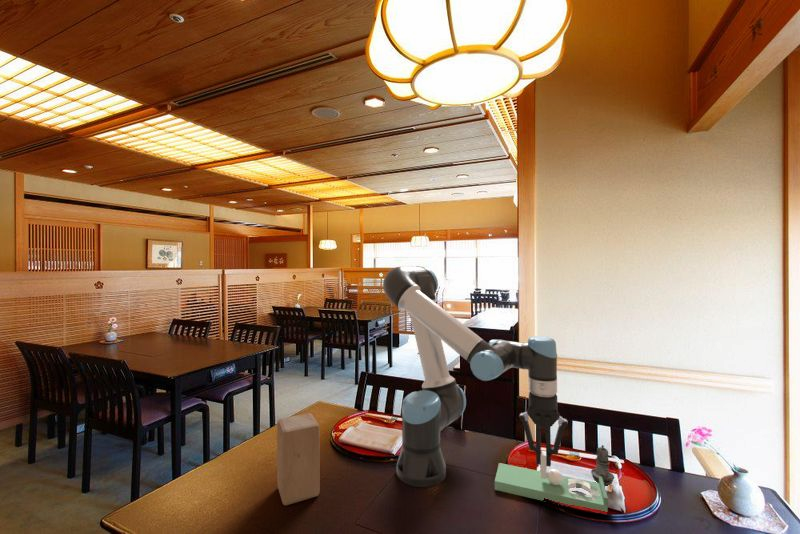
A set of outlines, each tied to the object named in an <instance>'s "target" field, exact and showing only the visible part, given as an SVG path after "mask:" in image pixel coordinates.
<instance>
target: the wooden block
mask: <svg viewBox="0 0 800 534" xmlns="http://www.w3.org/2000/svg"><path fill="white" fill-rule="evenodd" d="M276 425H277V426H276V427H277V429H276V435H277V437H276V439H277V440H276V441H277V443H276V448H277V450H276V452H277V458H276V459H277V462H276V463H277V469H276V472H277V476H276V477H277V479H276V480H277V481H276V482H277V483H276V484H277V489H278V492H279V496H280V499H281V503H282V505H283V506H288V505H292V504H297V503H299V502H302V501H305V500H309V499H312V498H315V497H318V496H319V494H320V486H321V485H320V477H321V475H320V464H321V463H320V425H319V423H318V421H317V420H316V418H315V417H314V415H313V414H312V413H310V412H309V413H303V414H297V415H292V416H288V417H287V416H286V417H281V418H279V419H277V422H276Z"/></svg>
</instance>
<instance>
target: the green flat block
mask: <svg viewBox="0 0 800 534" xmlns="http://www.w3.org/2000/svg"><path fill="white" fill-rule="evenodd" d="M575 487H576V488H582V489H584V490H586V491H588V492H589V493H590V495H584V494H583V495H582V494H579V493H577V492H572V491H571V490H570V488H575ZM494 491H500V492H502V493H507V494H513V495H516V496H520V497H525V498H529V499H534V500H538V501H542V502H544V501H543V500H544V498H545V499H549V500H552V501H555V502H560V503H564V504H568V505H575V506H580V507H586V508H590V509H596V510H601V511H605V512H608V511H609V509H608V508H609V507H608V505H609V502H608V500H609V497H608V494H607V492H606V490H605V486H604V482H603V478H602V477H601V476H599V483H596V482H593V481H591V480H586V479H582V478H581V479H580V478H575V477H570V476H565V475H562V482H561V484H559V485H553V484H551V483H550V482H549V481H548V479H542V478H541V470H537V469H530V468H526V467H522V466H521V467H520V466H516V465H511V464H505V463H500V462H498V466H497V471H496V474H495V478H494ZM608 513H609V512H608Z"/></svg>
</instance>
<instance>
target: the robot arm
mask: <svg viewBox="0 0 800 534" xmlns="http://www.w3.org/2000/svg"><path fill="white" fill-rule="evenodd" d="M438 281H439V279H438V278H437V276H436V274H435V273H434V272H433V271H432V270H431V269H429V268H428V267H426V266H425V267H424V266H419V265H417V266H398V267H397V266H396V267H394V268H392V269H390V270H389V271H388V272H387V273H386V275H385V277H384V279H383V282H382V287H383V292H384V294H385V296H386V298H387V300H389V301H390V302H391V304H393V306H395V307H396V308H397V309H399V310H400V311H401V312H402V311H404V312H405V311H406V312H407V313H408V314H409V315H410V320H411V324H412V330H413V333H414V338H415V342H416V347H417V351H418V355H419V360H420V364H421V369H422V372H423V376H424V381H423V383H422V384H421V388H422V390H419V391H416V390H415V391H412V392H410V393H408V394H407V395H406V396H405V397H404V398H403V401H402V407H401V420H402V421H401V422H402V423H401V429H402V430H401V432H402V433H401V434H402V435H401V441H402V443H401V444H402V445H401V449H400V453H399V456H398V459H397V462H396V476H397V478H398V479H399V480H400V481H401V482H402V483H404V484H406V485H408V486H411V487H414V488H415V487H416V488H429V487H434V486H436V485H439V484H440V483H442V482H444V480H445V479H446V477H447V466H446V465H447V464H446V462H445V459H444V456H443V453H442V450H441V431H443V429H445V428H447V427H448V426H449V425H450V424H453V422H455V421H457V420H458V419H459V418H460V417H461V416H462V415H463V413H464V412H465V410H466V406H467V399H466V398H467V397H466V394H465V391H464V390H463V388H461V387H460V386H459V384H457V381H456V378H454V377H453V376H452V375H450V371H449V367H448V363H447V360H446V359H447V358H446V354H445V351H444V346H443V342H444V343H445V344H446V345H447V346H449V348H451V349H452V350H453V351H455V352H456V353H457V354H458V355H459V356H460V357H462V358H463V359H464V360H466V361H467V362H468V363H469V364H470V365H469V366H470V370H471V372H472V375H474V377H475V378H477V379H479V380H481V381H483V382H487V381H492V380H494V379H498V377H499V376H501V375H502V374H503V373H505V372H507V371H508V370H510V369H512V368H515V369H520V370H528V371H527V372H528V390H529V392H528V407H527V409H526V411H524V412H520V413H519V416H518V417H519V420H520V422H521V424H522V426H523V429H524V433H525V437H526V442H527V444H528V448H529V450H530V451H532V452H534V453H535V454H536V455H535V459H536V460H535V462H536V464H537V465H538V466H540V471H541V478H542V479H547V472H548V467H551V466H552V459H551V458H552V456H553V455H554V456H555V455H556V456H557V455H558V454H559V450H560V446H561V444H562V443H561V442H562V439H563V434H564V431H565V430H566V428H568V426H569V425H568V424H569V423H568V419H567V418H563V416H561V415H560V412H559V410H558V395H557V393H558V375H557V374H558V372H557V371H558V366H557V365H558V363H557V362H558V353H557V343H556V341H555V339H554V338H552V337H549V336H538V335H537V336H536V335H535V336H531V337H529V338H528V339H527V342H518V341H512V340H504V339H491V340H489V341H488V342H487V341H485V340H484V339H483V338H481V337H480V336H479V335H478V334H477V333H475V332H474V331H473V330H471V329H470V328H469V327H467V326H466V325H465V324H464V323H462V322H461V321H460V320H458V319H457V318H456V317H454V316H453V315H452V314H451V313H449V312H448V311H447V310H446V309H444V308H443V307H442V306H440V305H439V304H438V303H436V302H437V297H436V293H437V290H438V289H439V282H438ZM529 418H530V419H531V421H532V422H533V424H534V425H535V442H534V439H533V435H532V432H531V427H530V423H529ZM556 422H557V424H558V427H557V431H556V435H555V438H554V443H553V447H552V446H551V441H552V439H551V438H552V436H551V427H553V425H555V423H556ZM542 427H544V428H545V450H542V437H541V436H542V430H541V429H542Z"/></svg>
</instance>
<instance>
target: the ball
mask: <svg viewBox="0 0 800 534" xmlns="http://www.w3.org/2000/svg"><path fill="white" fill-rule="evenodd" d="M562 476H563V474H562V473H561V472H560V471H559V470H558V469H556V468H550V469H548V470H547V479H548V481H549V482H550V483H551V484H553V485H559V484H561V482H562Z"/></svg>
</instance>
